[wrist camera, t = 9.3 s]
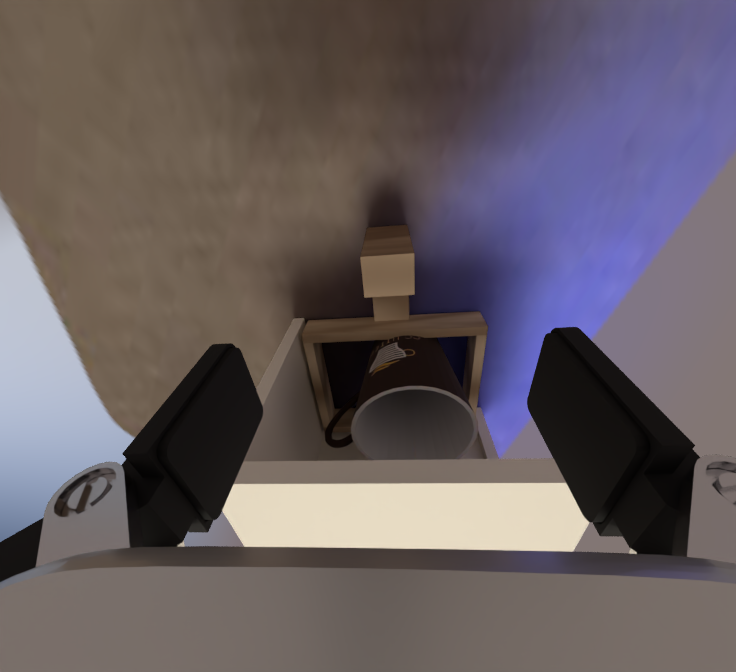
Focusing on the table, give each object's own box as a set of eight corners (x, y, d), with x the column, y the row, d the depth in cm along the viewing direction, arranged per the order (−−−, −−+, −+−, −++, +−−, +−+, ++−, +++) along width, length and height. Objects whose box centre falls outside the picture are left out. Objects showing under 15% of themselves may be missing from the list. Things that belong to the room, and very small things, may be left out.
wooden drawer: (289, 233, 24) (255, 264, 18) (490, 217, 22) (529, 245, 16) (328, 414, 34) (316, 472, 28) (467, 410, 33) (486, 471, 27)
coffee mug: (453, 306, 27) (484, 382, 18) (449, 382, 31) (472, 470, 23) (323, 315, 28) (295, 390, 19) (337, 387, 32) (320, 473, 24)
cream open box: (293, 318, 28) (205, 484, 14) (495, 307, 27) (611, 482, 13) (319, 423, 36) (277, 599, 22) (478, 420, 34) (541, 608, 20)
